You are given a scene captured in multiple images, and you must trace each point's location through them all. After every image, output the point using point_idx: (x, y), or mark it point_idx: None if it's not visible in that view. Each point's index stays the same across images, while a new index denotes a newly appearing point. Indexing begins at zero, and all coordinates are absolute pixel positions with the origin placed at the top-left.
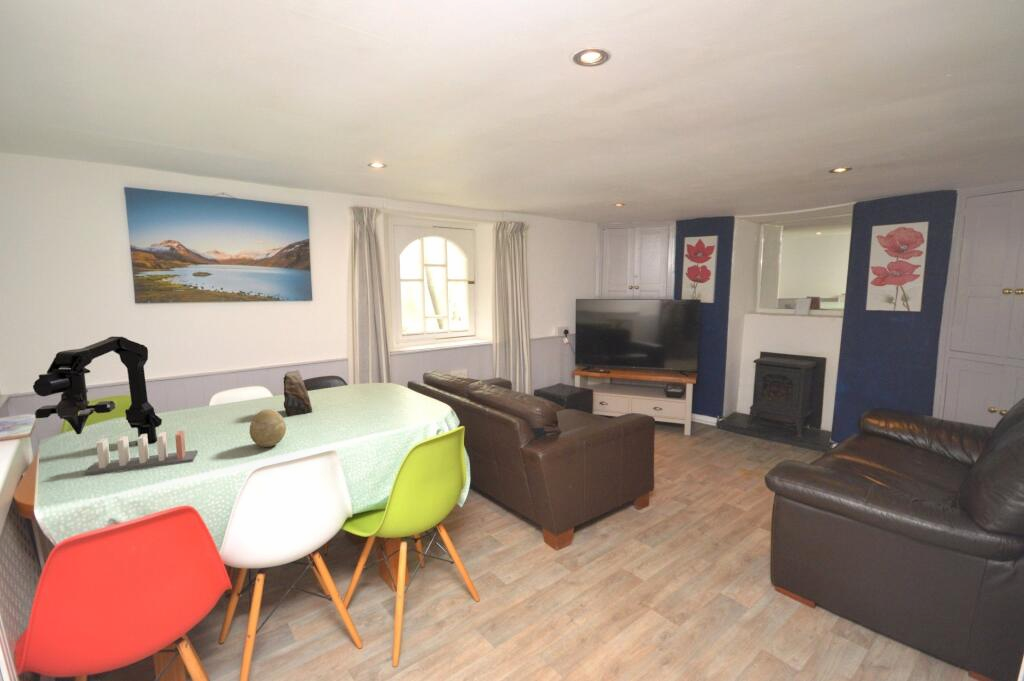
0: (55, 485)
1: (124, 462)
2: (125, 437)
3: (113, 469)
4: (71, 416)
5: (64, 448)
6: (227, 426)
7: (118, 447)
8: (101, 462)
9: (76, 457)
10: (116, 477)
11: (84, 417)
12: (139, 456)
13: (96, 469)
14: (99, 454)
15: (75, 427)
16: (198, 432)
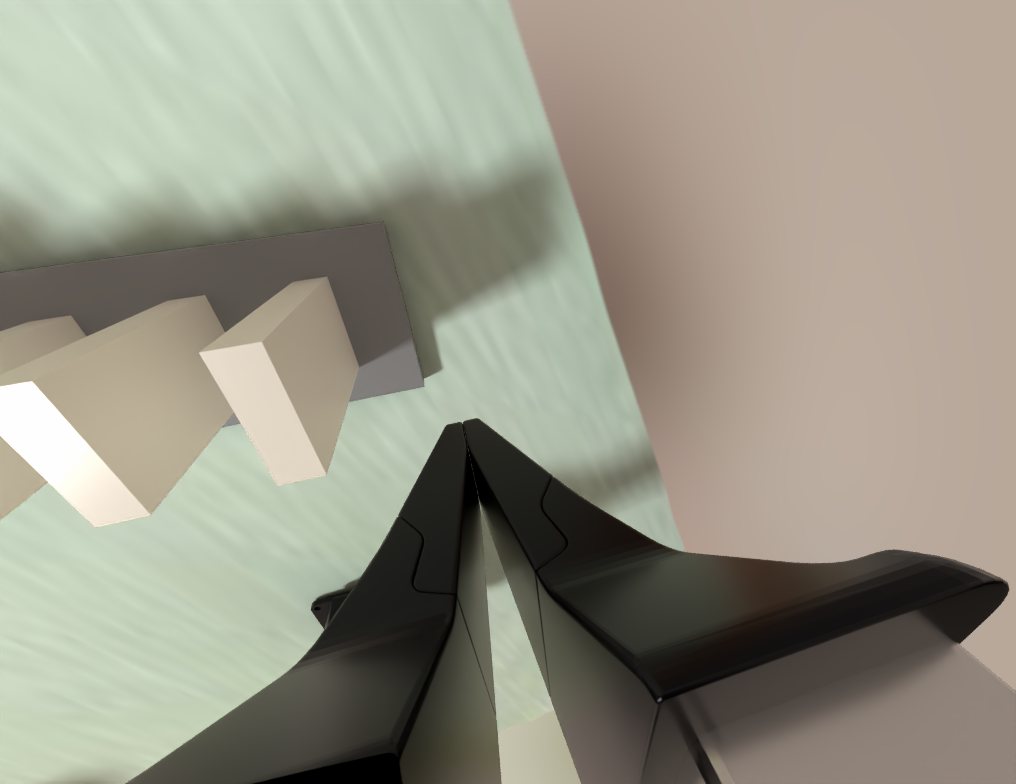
0: (467, 56)
1: (160, 307)
2: (53, 481)
3: (212, 246)
4: (631, 724)
5: None
6: (100, 751)
7: (95, 348)
8: (298, 288)
9: (559, 475)
10: (71, 84)
11: (188, 749)
12: (14, 336)
13: (331, 259)
14: (286, 305)
15: (495, 468)
16: (193, 693)
